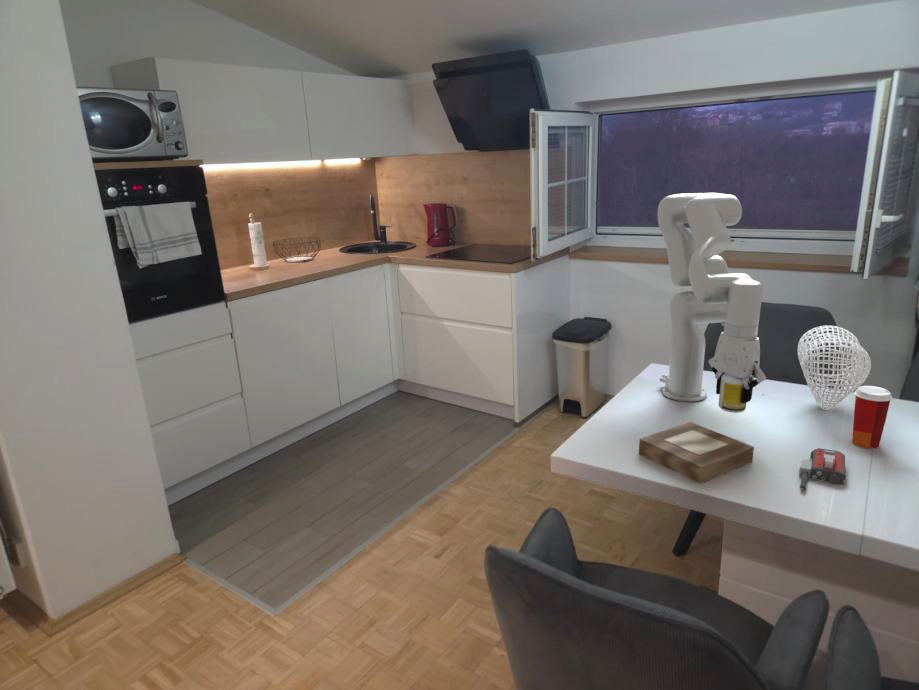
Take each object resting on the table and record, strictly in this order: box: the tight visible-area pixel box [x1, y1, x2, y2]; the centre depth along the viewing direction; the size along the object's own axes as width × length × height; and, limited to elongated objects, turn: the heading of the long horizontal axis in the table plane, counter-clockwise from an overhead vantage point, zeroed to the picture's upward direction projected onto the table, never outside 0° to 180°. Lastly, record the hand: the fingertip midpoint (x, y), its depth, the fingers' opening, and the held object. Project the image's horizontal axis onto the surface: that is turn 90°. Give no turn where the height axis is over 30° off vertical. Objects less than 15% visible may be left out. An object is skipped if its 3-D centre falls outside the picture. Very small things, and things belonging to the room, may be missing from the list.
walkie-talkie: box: [798, 447, 847, 490], centre depth 140 cm, size 9×4×20 cm
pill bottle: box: [718, 373, 749, 414], centre depth 160 cm, size 6×6×12 cm
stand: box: [638, 421, 755, 484], centre depth 150 cm, size 18×18×4 cm
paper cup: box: [851, 385, 893, 450], centre depth 153 cm, size 8×8×14 cm
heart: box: [797, 324, 872, 411], centre depth 173 cm, size 28×16×22 cm, turn 158°
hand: (733, 396), depth 161 cm, fingers closed on pill bottle, 6 cm apart
